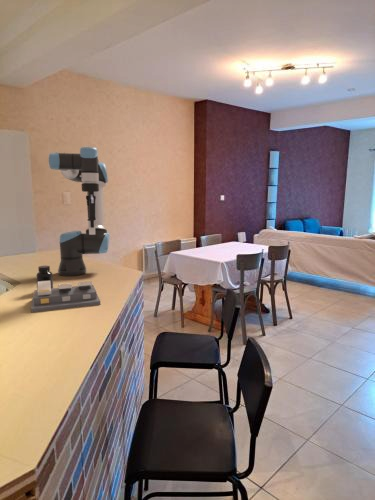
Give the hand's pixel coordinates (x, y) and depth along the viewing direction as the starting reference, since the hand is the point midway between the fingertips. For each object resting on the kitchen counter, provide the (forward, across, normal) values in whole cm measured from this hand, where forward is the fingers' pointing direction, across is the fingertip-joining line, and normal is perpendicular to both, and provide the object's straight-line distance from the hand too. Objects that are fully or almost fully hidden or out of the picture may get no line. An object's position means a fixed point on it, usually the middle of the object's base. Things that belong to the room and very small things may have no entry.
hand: (92, 234), depth 162 cm
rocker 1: (+19, +17, -22) cm, 33 cm away
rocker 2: (+19, +17, -14) cm, 29 cm away
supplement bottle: (+26, -1, -22) cm, 34 cm away
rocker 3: (+19, +16, -6) cm, 26 cm away
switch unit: (+26, +18, -14) cm, 34 cm away
